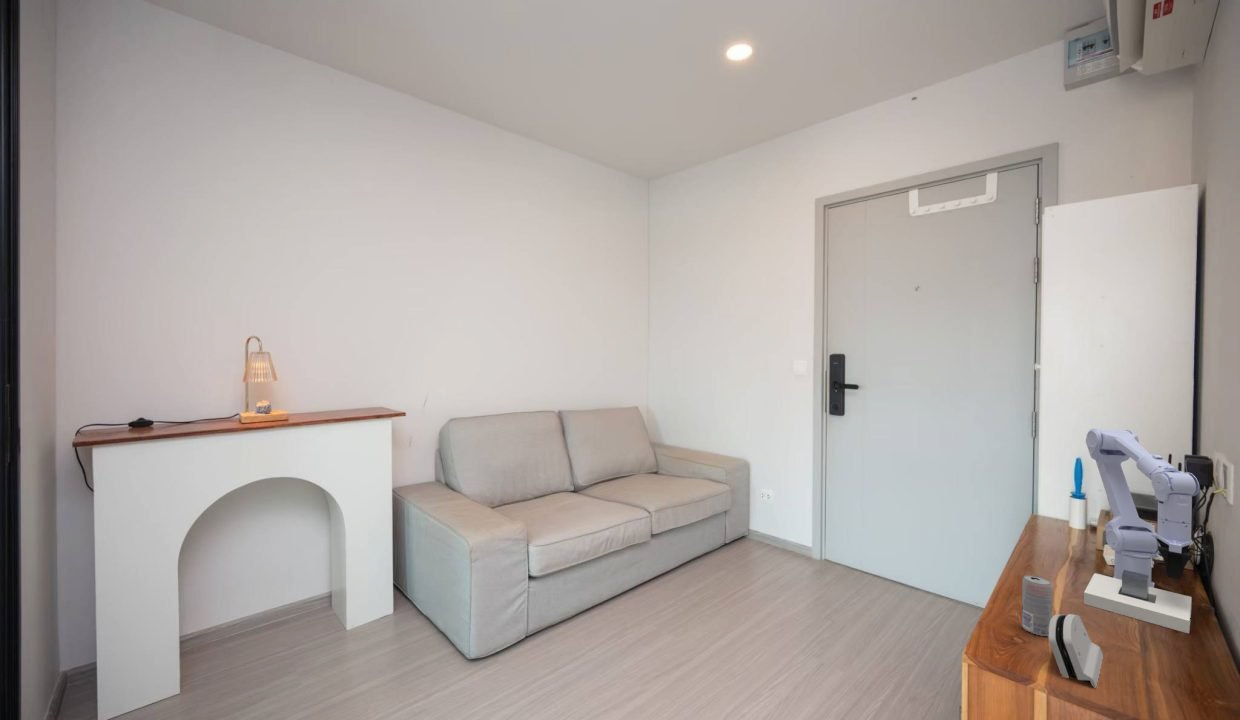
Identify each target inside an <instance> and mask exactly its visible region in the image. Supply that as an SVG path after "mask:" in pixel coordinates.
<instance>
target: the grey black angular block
mask: <svg viewBox="0 0 1240 720" xmlns="http://www.w3.org/2000/svg"><path fill="white" fill-rule="evenodd" d="M1048 643H1049V645H1050V647H1051V651H1052V653H1053V656H1054V659H1055V662H1056V664H1057V667H1058V670H1059V672H1060V675H1061V674H1062V675H1063V676H1066V677H1068V678H1069V677H1070V678H1073V677H1074V678H1076V679H1077V680H1078V681H1090V684H1091V686H1094V687H1095V688H1096V686H1097V682H1098V683H1099V681H1098V678H1099V679H1100V676H1099V674H1100V675H1101V671H1100V669H1101V670H1102V666H1101V665H1102V664H1103V661H1102V660H1104V654H1103V651H1102V649H1101V647H1100V646H1099V645H1098V644H1095V643H1094V642H1092V640H1091V639H1090V636H1089V633H1088V631H1087V630H1086V627H1085V624H1084V623H1083V621H1082V618H1081V617H1080V615H1078V614H1072V613H1068V614H1067V615H1066V614H1064V613H1061V614H1060V613H1058V614H1054V615H1052V618H1051V620H1050V624H1049V636H1048ZM1097 687H1098V686H1097Z"/></svg>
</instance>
